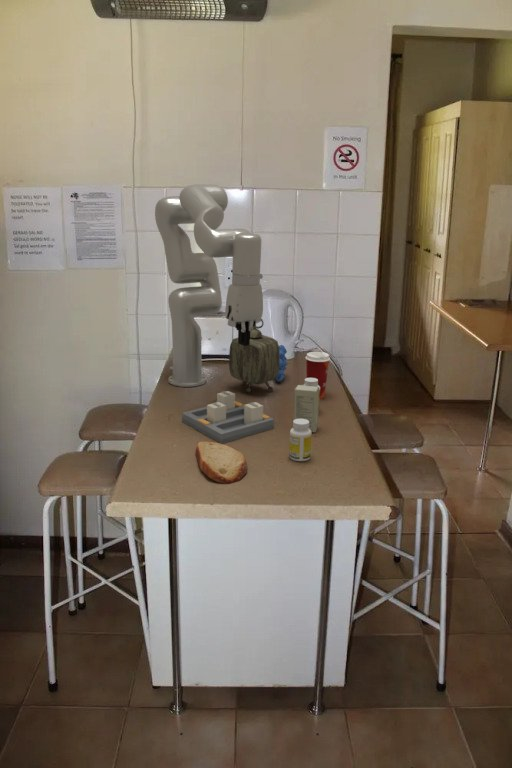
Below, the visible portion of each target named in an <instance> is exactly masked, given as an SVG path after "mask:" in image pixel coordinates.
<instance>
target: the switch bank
mask: <svg viewBox="0 0 512 768" xmlns="http://www.w3.org/2000/svg"><path fill="white" fill-rule="evenodd" d="M244 405H245V404H243V403H241V402H239V401H237V400H235V408H233V409H229V410H226V420H224V421H220V422H217V423H213V424H211V423H210V422H208V421H207V406H205V407H200V408H197V409H192V410H189V411H184V412H182V413H181V418H182V419H181V422H182V423H184V424H185V425H187V426H188V427H190V428H192V429H194V430H196V431H198V432H200V433H202V434H203V435H205V436H207V437H209V438H210V439H212V440H213V441H216V442H217V443H220V444H225V443H229V442H231V441H236V440H239V439H242V437H243V438H245V437H249V436H252V435H255V434H259V433H262V432H266V431H269V430H273V429H274V428H275V419H274V418H272V417H270V416H268V415H267V414H265V413H263V420H261V421H258V422H254V423H251V424H247V425H246V424H244Z"/></svg>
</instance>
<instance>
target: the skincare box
mask: <svg viewBox="0 0 512 768" xmlns="http://www.w3.org/2000/svg"><path fill="white" fill-rule="evenodd" d="M293 393H294V396H293V397H294V399H293V401H294V405H293V407H294V411H293V412H294V415H293V416H294V417H293V421H294V420H295V419H306V420H308V421H309V429H310V430H311V433H316V432H317V430H318V428H319V412H318V408H319V409H320V402H319V387H317V386H305V385H304V384H298V385H297V386H296V387H294V392H293Z"/></svg>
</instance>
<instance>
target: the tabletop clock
mask: <svg viewBox="0 0 512 768" xmlns="http://www.w3.org/2000/svg"><path fill="white" fill-rule="evenodd" d="M264 324H265V323H264V320H263V319H262V318H261V325H259V326H258V325H257V324H255V325H254V326H253V328H252V331H250V344H249V345H248V346H247V345H246V346H243V345H241V344H239V343H238V337H236V338H233V339H232V341H231V343H230V346H229V352H228V353H229V354H228V355H229V356H228V357H229V358H228V363H229V364H228V367H229V374H230V377H232V378H234V379H236V380H239V381H242V385H243V386H246V385H247V384H248V387H247V388H246V389H245V390H246V392H247V393H251V392H252V388H251V386H252V385H265V386H266V387H267V388H268V390H267V391H268V392H270V393H271V392H273V391H274V387H272V386H270V384H269V382H271V381H273V380H276V379H275V378H276V377H277V375H278V371H279V363H280V353H279V346H280V345H279V342H278V340H277V339H275V338H273V337H271V336H268V335H264V334H263V333H262V331H261V330H260V329H261V328H263V327H264Z"/></svg>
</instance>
